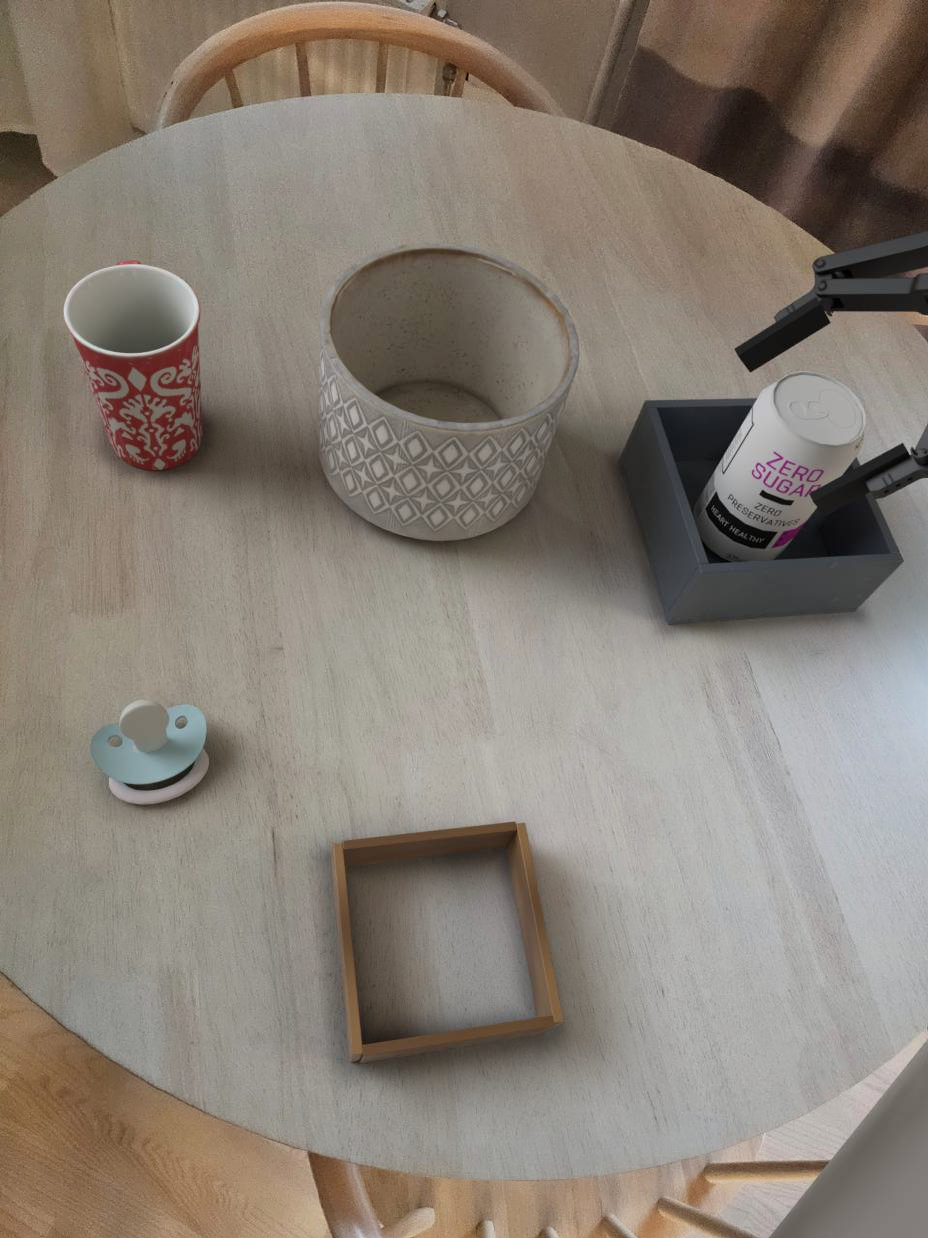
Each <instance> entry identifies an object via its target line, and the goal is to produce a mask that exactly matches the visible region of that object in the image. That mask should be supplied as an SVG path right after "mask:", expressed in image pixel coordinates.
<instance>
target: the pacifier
mask: <svg viewBox="0 0 928 1238" xmlns="http://www.w3.org/2000/svg"><path fill="white" fill-rule="evenodd" d="M183 718H184V719H186V720H187V722H186V724H185V726H184V727H182V728H178V727H177V726H176V724H177V722H178V721H179V720H180V719H183ZM207 728H208V727H207V721H206V718H205V715H204V714H203V712H202V711H201V709H199V708H198V707H196V706H195V705H192V704H178V705H175V706H172V707H170V708H168V709H167V708H165V706H163V704H161V703H159V702H158V701H156V700H153V699H145V698H143V699H139V700H135V701H133V702H131V703H130V704H128V705H127V706H126V707H125V708H124V709H123V710H122V713H121V714H120V717H119V721H118V722H113V723H109V724H107V725H105V726H103V727H101V728H99V729H98V730H97V731H96V732H95V733H94V735H93V736H92V738H91V740H90V745H89V749H90V755H91V757H92V759H93V761H94V763H95V765H96V766H97V767H98V768H99V769H100V770H101V771H102V772H103V773H104V775H106V776H107V777H108V787H109V789H110V791H111V793H112V795H114V796H115V798H117V799H119V800H120V801H123V802H126V803H129V804H134V805H155V804H159V803H163V802H164V803H165V802H169V801H171V800H173V799H175V798H178V797H180V796H182V795H184V794H185V793H186V794H187V792H189V791H191V790H193V788H194V787H195V786H197V785H198V784H199V783H200V782H201V781H202V779H203V778H204V777H205V775H206V774H207V771H208V769H209V766H210V759H209V755H208V753H207V751H206V750H205V748H204V746H205V744H206V739H207V733H208V729H207ZM112 738H119V739H121V741H122V742H121V744H120V745H119V746H112V745H111V744H110V743H109V741H110V740H111V739H112ZM191 765H193V766H192V769H191V770H190V771H189V772H188V773H187V774H186V775H185V776H184V777H183V778H181V779H180V780H179V781H177V782H175V783H173V784H171V785H168V786H166V787H163V788H158V789H154V790H153V789H152V790H141V789H135V788H132V787H129V786H128V785H127V784H129V785H150V784H156V783H159V782H163V781H166V780H168V779H171V778H173V777H175V776H177V775H179V774H181V773H183V772H184V771H185V770H186V769H188V768H189V767H190V766H191Z"/></svg>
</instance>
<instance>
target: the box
mask: <svg viewBox="0 0 928 1238" xmlns="http://www.w3.org/2000/svg"><path fill="white" fill-rule="evenodd" d="M526 825H527V824H526V822H518V823H517V822H516V821H507V822H499V823H490V824H482V825H480V824H479V825H471V826H463V827H461V826H460V827H454V828H453V827H452V828H444V829H436V830H426V831H418V832H417V831H416V832H409V833H401V834H392V835H391V834H390V835H382V836H381V835H380V836H373V837H365V838H355V839H345V840H342V842H341V843H340V842H339V843H333V844H332V850H331V860H330V861H331V862H330V865H331V874H332V876H331V877H332V884H333V885H332V886H333V897H334V908H335V909H334V910H335V919H336V930H337V931H336V932H337V941H338V954H339V963H340V974H341V975H340V976H341V983H342V984H341V987H342V996H343V998H342V999H343V1007H344V1020H345V1029H346V1041H347V1051H348V1062H349V1063H354V1062H359V1064H365V1063H370V1062H371V1063H372V1062H377V1061H384V1060H390V1059H397V1058H402V1057H408V1056H409V1057H410V1056H415V1055H421V1054H428V1053H434V1052H441V1051H445V1050H453V1049H459V1048H464V1047H472V1046H478V1045H483V1044H490V1043H496V1042H503V1041H509V1040H514V1039H515V1040H516V1039H522V1038H528V1037H533V1036H539V1035H541V1034H543V1033H545V1032H548V1031H550V1030H552V1029H553V1028H555V1027H557V1026H558V1025H560V1024H562V1023H563V1022H564V1015H563V1011H562V1010H563V1009H562V1006H561V1001H560V995H559V991H558V985H557V980H556V975H555V974H556V973H555V970H554V963H553V959H552V954H551V949H550V943H549V937H548V933H547V928H546V923H545V918H544V912H543V908H542V902H541V896H540V892H539V886H538V882H537V876H536V871H535V866H534V861H533V857H532V851H531V846H530V840H529V835H528V831H527V826H526ZM500 849H501V850H503V849H506V854H507V860H508V866H509V870H510V876H511V882H512V888H513V894H514V898H515V905H516V909H517V915H518V919H519V925H520V931H521V937H522V942H523V943H522V944H523V948H524V953H525V958H526V959H525V960H526V963H527V964H526V965H527V971H528V976H529V981H530V987H531V993H532V997H533V1004H534V1009H535V1014H536V1017H533V1018H532V1017H531V1018H525V1019H519V1020H514V1021H513V1020H512V1021H507V1022H500V1023H493V1024H487V1025H481V1026H475V1027H469V1028H462V1029H456V1030H455V1029H454V1030H449V1031H443V1032H436V1033H430V1034H429V1033H428V1034H424V1035H418V1036H412V1037H404V1038H398V1039H392V1040H385V1041H379V1042H374V1043H373V1042H372V1043H366V1044H363V1038H362V1028H361V1018H360V1017H361V1016H360V1008H359V999H358V987H357V977H356V967H355V956H354V945H353V935H352V925H351V915H350V907H349V906H350V905H349V894H348V885H347V884H348V883H347V876H346V868H348V867H349V868H350V867H358V866H366V865H374V864H375V865H376V864H382V863H392V862H399V861H408V860H416V859H425V858H433V857H442V856H451V855H459V854H460V855H461V854H467V853H475V852H476V853H477V852H485V851H493V850H500Z"/></svg>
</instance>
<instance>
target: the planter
mask: <svg viewBox="0 0 928 1238" xmlns="http://www.w3.org/2000/svg"><path fill="white" fill-rule="evenodd" d="M579 341H580V340H579V336H578V332H577V328H576V324H575V323H574V320H573V319H572V317H571V315H570V313H569V311H568V309H567V307H566V306H565V305H564V303H563V302H562V300H561V299H560V298H559V297H558V296H557V294H556V293H554V291H552V289H551V288H550V287H549V286H548V285H547V284H546V283H545V282H543V281H542V280H540V279H539V278H538V277H537V276H536V275H534V274H533V273H531V272H530V271H529V270H526V268H523V267H522V266H521V265H519V264H517V263H515V262H513V261H510V260H509V259H507V258H504V257H503V256H500V255H497V254H494V253H492V252H489V251H486V250H484V249H479V248H475V247H472V246H471V247H470V246H466V245H461V244H454V243H453V244H452V243H447V242H446V243H445V242H420V243H419V242H418V243H407V244H403V245H397V246H393V247H388V248H386V249H383V250H380V251H377V252H374V253H372V254H370V255H367V256H366V257H364V258H362V259H360V260H358V261H357V262H355V263H354V264H353V265H352V266H350V267H348V268H347V269H346V270H345V271H344V272H343V273H342V274H341V275H339V277H338V278H337V279H336V280H335V281H334V283H333V284H332V286H331V287H330V289H329V291H328V293H327V294H326V297H325V299H324V302H323V305H322V308H321V314H320V323H319V362H318V364H319V367H318V410H317V411H318V412H317V413H318V414H317V450H318V451H317V452H318V459H319V462H320V465H321V466H320V467H321V469H322V472H323V473H324V476H325V477H326V480H327V481H328V483H329V485H330V487H331V488H332V489H333V491H334V492H335V493H336V495H337V496H338V497H339V499H340V500H341V501H343V503H344V504H346V506H347V507H349V509H351V511H353V512H354V513H355V514H358V516H360V517H361V518H363V519H364V520H365V521H367V522H369V523H371V524H373V525H375V526H377V527H378V528H381V529H383V530H385V531H388V532H390V533H394V534H396V535H400V536H403V537H407V538H412V539H416V540H422V541H423V540H424V541H433V542H434V541H435V542H445V541H446V542H447V541H459V540H465V539H470V538H475V537H479V536H481V535H484V534H487V533H490V532H492V531H495V530H496V529H499V528H500V527H502V526H504V525H505V524H507V523H508V522H509V521H511V520H512V519H513V518H515V517H517V516H518V514H519V513H520V512H521V511H522V510H523V509H524V508H525V507H526V506H527V505H528V503H529V502H530V500H531V498H532V497H533V495H534V494H535V492H536V488H537V487H538V483H539V482H540V479H541V475H542V472H543V470H544V467H545V464H546V461H547V459H548V455H549V452H550V449H551V447H552V443H553V441H554V438H555V434H556V431H557V428H558V426H559V424H560V420H561V417H562V415H563V411H564V408H565V405H566V402H567V400H568V397H569V394H570V390H571V388H572V386H573V382H574V380H575V377H576V374H577V370H578V368H579V360H580V345H579V344H580V342H579Z"/></svg>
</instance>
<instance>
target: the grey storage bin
mask: <svg viewBox="0 0 928 1238" xmlns="http://www.w3.org/2000/svg"><path fill="white" fill-rule="evenodd" d="M757 398H758V397H749V398H748V397H747V398H701V399H699V398H697V399H693V398H691V399H647V400H644V402H643V404H642V406H641V409H640V411H639V413H638V415H637V418H636V420H635V421H634V422H635V423H634V425H633V427H632V429H631V431H630V433H629V435H628V438H627V440H626V443H625V445H624V447H623V450H622V452H621V454H620V457H619V459H618V463H619V467H620V470H621V473H622V477H623V481H624V485H625V486H626V490H627V493H628V496H629V497H628V498H629V500H630V504H631V507H632V510H633V515H634V517H635V520H636V523H637V526H638V531H639V534H640V536H641V540H642V543H643V547H644V550H645V551H644V552H645V553H646V557H647V561H648V564H649V567H650V570H651V574H652V577H653V581H654V584H655V588H656V590H657V594H658V597H659V600H660V604H661V607H662V611H663V613H664V618H665V621H666V623H667V625H668V626H669V625H682V624H683V625H684V624H685V625H686V624H698V623H712V622H728V621H739V620H740V621H741V620H755V619H756V620H757V619H768V618H769V619H770V618H782V617H783V618H784V617H785V618H786V617H797V616H799V617H800V616H813V615H827V614H839V613H854V612H856V611H857V610H858V609H859V608H860V607H861V606H862V605H863V604H864V603H865V601H866V600H868V599H869V598H870V597H871V596H872V594H874V592H876V590H877V589H879V587H880V586H882V584H884V582H885V581H887V579H889V577H890V576H892V574H893V573H894V572H895V571H896V570H898V568H899V567H900V566H901V565H902V564H903V563H904V562H905V559H904V558H903V555H902V554H901V551H900V549H899V547H898V545H897V542H896V540H895V538H894V535H893V534H892V531H891V529H890V527H889V525H888V523H887V520H886V518H885V516H884V514H883V512H882V509H881V507H880V505H879V503H878V501H877V500H878V499H875V498H874V496H873V495H872V493H871V492H869V493H867V494H865V495H864V496H862V497H860V498H858V499H856V500H854V501H852V502H850V503H848V504H847V505H845V506H843V507H841V508H839V509H837V510H835V511H833V512H831V513H830V514H828V515H826V516H824V515H823V514H822V512H821V511H820V510H819V509H818V507H817V508H816V509H815V511H814V512H813V513H812V515H811V516H810V517H809V519H808V520H807V521H806V522H805V524H804V525H803V526H802V528H801V529H800V530H799V531H798V533H797V534H796V535H795V537H794V538H793V539H792V540H791V542H790V543H789V544H788V546H787V547H786V548H785V550H784V551H783V552H782V553H781V554H780V555H779V556H778V557H776V558H775V559H774V560H767V561H749V562H731V561H729V560H726V559H724V558H721V557H720V556H719V555H717V554H716V553H714V552H713V551H712V550H710V549H709V548H708V547H707V546H706V544H705V543H704V542H703V540H702V539H701V538H700V536H699V533H698V530H697V527H696V524H695V521H694V518H693V510H694V506H695V504H696V502H697V500H698V499H699V497H700V495H701V493H702V492H703V490H704V488H705V487H706V485H707V483H708V482H709V480H710V478H711V476H712V475H713V473H714V471H715V470H716V468H717V466H718V465H719V463H720V461H721V459H722V458H723V456H724V454H725V453H726V451H727V449H728V448H729V446H730V444H731V442H732V441H733V439H734V437H735V436H736V434H737V432H738V431H739V429H740V427H741V425H742V424H743V422H744V420H745V419H746V417H747V415H748V414H749V412H750V410H751V408H752V407H753V405H754V403H755V402H756V400H757ZM861 465H862V464H861V463H860V461H859V458H858V456H857V457H856V458H855V459H854V460H853V462H852V463H851V464H850V466H849V467H848V468H847V469H846V471H845V472H844V473H843V475H844V474H846V473H848V472H850V471H852V470H853V469H855V468H857V467H859V466H861Z"/></svg>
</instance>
